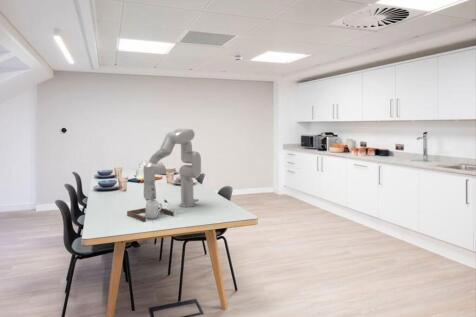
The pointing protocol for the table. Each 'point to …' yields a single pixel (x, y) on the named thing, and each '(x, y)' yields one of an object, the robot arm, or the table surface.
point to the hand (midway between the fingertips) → (149, 209)
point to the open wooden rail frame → (135, 212)
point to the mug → (152, 209)
